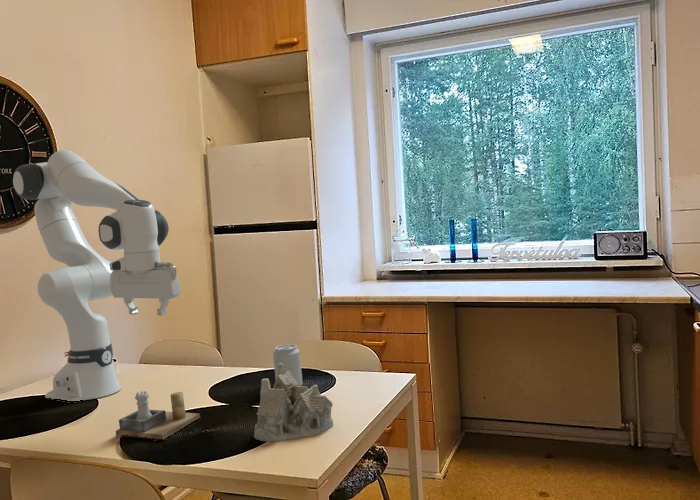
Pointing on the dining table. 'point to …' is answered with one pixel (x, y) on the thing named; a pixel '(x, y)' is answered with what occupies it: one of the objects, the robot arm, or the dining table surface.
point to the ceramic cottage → (291, 409)
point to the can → (288, 361)
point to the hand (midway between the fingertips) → (147, 314)
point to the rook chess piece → (142, 405)
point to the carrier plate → (158, 421)
